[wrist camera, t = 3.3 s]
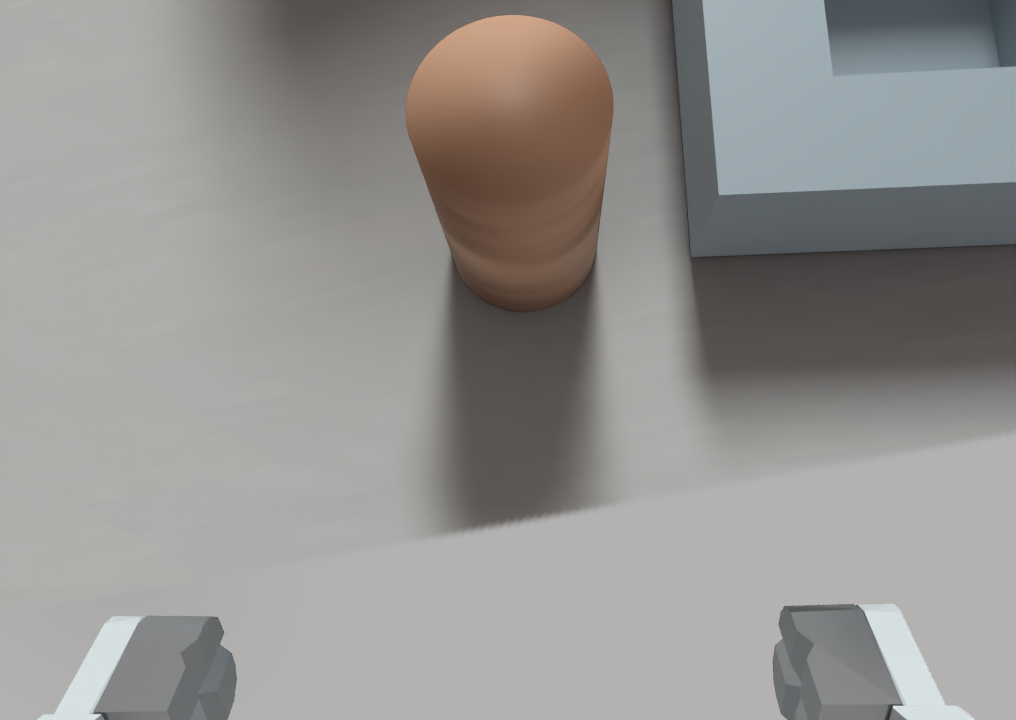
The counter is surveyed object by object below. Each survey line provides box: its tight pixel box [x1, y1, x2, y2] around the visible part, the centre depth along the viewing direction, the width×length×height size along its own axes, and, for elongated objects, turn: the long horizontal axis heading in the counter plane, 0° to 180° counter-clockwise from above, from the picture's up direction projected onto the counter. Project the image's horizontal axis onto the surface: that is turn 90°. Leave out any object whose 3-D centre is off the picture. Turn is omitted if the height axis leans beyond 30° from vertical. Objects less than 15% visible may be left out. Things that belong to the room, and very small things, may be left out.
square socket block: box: [672, 0, 1016, 257], centre depth 27 cm, size 14×14×5 cm
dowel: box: [406, 15, 613, 312], centre depth 24 cm, size 5×5×9 cm
